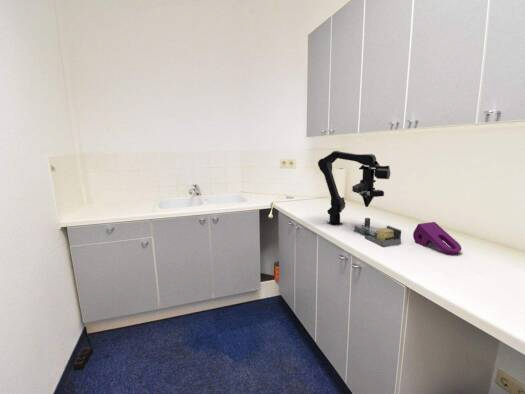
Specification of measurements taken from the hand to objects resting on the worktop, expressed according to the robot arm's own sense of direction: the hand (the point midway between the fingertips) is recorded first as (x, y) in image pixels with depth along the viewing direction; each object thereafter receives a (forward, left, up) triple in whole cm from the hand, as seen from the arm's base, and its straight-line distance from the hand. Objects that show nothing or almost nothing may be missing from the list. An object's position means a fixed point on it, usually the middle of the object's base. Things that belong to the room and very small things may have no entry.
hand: (366, 206), depth 145 cm
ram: (+11, -5, -11) cm, 17 cm away
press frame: (+13, -4, -13) cm, 18 cm away
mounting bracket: (+33, +12, -13) cm, 38 cm away
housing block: (+20, -5, -12) cm, 24 cm away
